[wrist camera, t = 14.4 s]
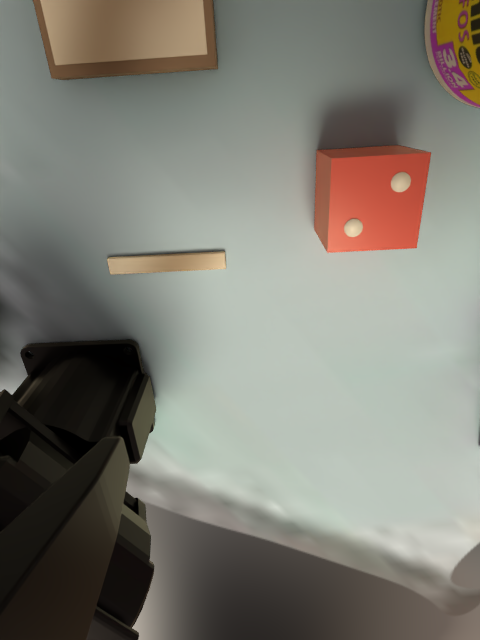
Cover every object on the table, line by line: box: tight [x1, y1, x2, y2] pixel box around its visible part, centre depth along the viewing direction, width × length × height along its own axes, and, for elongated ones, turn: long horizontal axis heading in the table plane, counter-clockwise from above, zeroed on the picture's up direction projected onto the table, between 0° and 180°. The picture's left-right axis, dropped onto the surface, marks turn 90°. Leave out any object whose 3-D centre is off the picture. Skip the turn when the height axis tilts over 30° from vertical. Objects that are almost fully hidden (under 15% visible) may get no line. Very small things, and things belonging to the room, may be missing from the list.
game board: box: [33, 0, 226, 274], centre depth 15 cm, size 6×20×1 cm, turn 3°
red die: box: [314, 145, 431, 253], centre depth 16 cm, size 4×4×4 cm
